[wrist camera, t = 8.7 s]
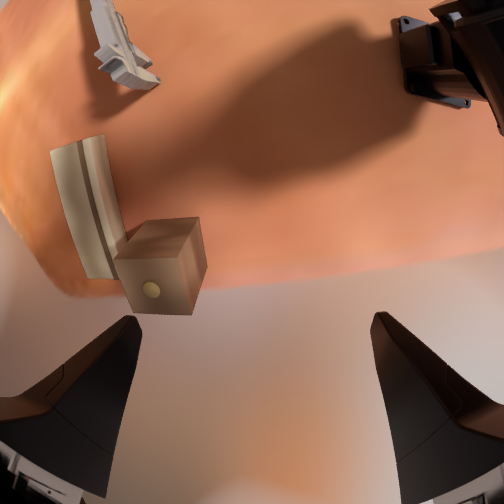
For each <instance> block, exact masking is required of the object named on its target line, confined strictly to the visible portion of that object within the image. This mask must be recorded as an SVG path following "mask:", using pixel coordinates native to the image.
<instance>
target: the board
mask: <svg viewBox="0 0 504 504" xmlns="http://www.w3.org/2000/svg"><path fill="white" fill-rule="evenodd" d="M50 155H51V160H52V165H53V170H54V174H55V179H56V183H57V187H58V191H59V195H60V199H61V202H62V206H63V210H64V213H65V216H66V220H67V223H68V226H69V229H70V232H71V235H72V238H73V241H74V244H75V247H76V249H77V252H78V255H79V258H80V260H81V263H82V265H83V268H84V270H85V273H86V275H87V278H88V279H114V280H119V279H120V278H119V275H118V273H117V270H116V267H115V264H114V261H113V259H114V258H115V256H116V255H117V254H118V253H119V252H120V250H121V249H122V248H123V247H124V246H125V245H126V243H127V242H128V240H127V237H126V233H125V229H124V226H123V222H122V218H121V214H120V210H119V206H118V202H117V198H116V193H115V189H114V184H113V180H112V175H111V170H110V164H109V159H108V154H107V148H106V142H105V135H104V134H100V135H97V136H93V137H90V138H87V139H83V140H80V141H77V142H74V143H71V144H68V145H65V146H62V147H60V148H57V149H54V150H51V151H50Z"/></svg>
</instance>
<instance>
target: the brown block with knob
mask: <svg viewBox="0 0 504 504" xmlns="http://www.w3.org/2000/svg"><path fill="white" fill-rule="evenodd" d="M113 261H114V264H115V267H116V270H117V273H118V275H119V278H120V281H121V283H122V286H123V289H124V291H125V294H126V296H127V299H128V301H129V304H130V306H131V308H132V311H133V313H143V314H164V315H192V313H193V310H194V307H195V303H196V300H197V297H198V294H199V291H200V288H201V285H202V282H203V279H204V276H205V272H206V269H207V261H206V255H205V250H204V244H203V238H202V232H201V225H200V219H199V217H188V218H174V219H160V220H148V221H146V222H145V223H144V224H143V225H142V226H141V227H140V228H139V230H138V231H137V232H136V233H135V234H134V235H133V236H132V238H131V239H130V240H129V241H128V242H127V243H126V245H125V246H124V247H123V248H122V249H121V250H120V252H119V253H118V254H117V255H116V256H115V258H114V259H113Z"/></svg>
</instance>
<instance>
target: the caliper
mask: <svg viewBox="0 0 504 504" xmlns="http://www.w3.org/2000/svg"><path fill="white" fill-rule="evenodd" d="M90 3H91V6H92V11H91V12H90V13H91V17H92V21H93V24H94V28H95V31H96V34H97V38H98V41H99V44H100V47H101V48H100V49H99V50H98V51H96V52H95V53H94V55H95V56H96V57H97V58H98V59H99V60H100V61H102V62H103V64H102V65H101V66H100V67H99V68H98V69H99V70H102V71H104V72H107V73H110V75H111V77H112V80H113V81H114V82H117V83H119V84H121V85H124V86H126V87H128V88H131V89H140V90H150V89H151V88H153V87H155V86H156V85H158V84H159V83H161V80H160V78H159V77H157V76H156V75H154V74H152V73H150V72H149V71H147V70H145V69H146V68H148V67H149V66H151V65H153V64H152V62H151V60H150V58H148V57H147V56H146V55H145V54H144V53H143V52H142V51H140V50H139V49H138V48H137V47H136V46H135V45H133V44H132V43H131V42H130V41H129V39H128V36H127V35H128V33H127V27H126V25H125V24H124V21H123V17H122V15H121V14H119V13H118V12H116V10H115V7H114V5H113V2H112V0H90Z"/></svg>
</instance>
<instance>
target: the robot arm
mask: <svg viewBox="0 0 504 504" xmlns="http://www.w3.org/2000/svg"><path fill="white" fill-rule="evenodd" d="M429 10H430V11H431V13H432V14H433V15H434V16H435V17H437V18H438V19H439V21H437V22H434V23H431V24H429V23H426V22H423V21H420V20H417V19H414V18H411V17H407V16H401V17H399V19H398V23H399V30H400V35H399V44H400V54H401V65H402V66H403V69H404V87H405V90H406V92H407V93H408V94H411V95H416V96H421V97H425V98H429V99H433V100H437V101H441V102H445V103H449V104H452V105H456V106H459V107H462V108H470V105H471V100H478V101H485V102H488V103H489V105H490V107H491V110H492V112H493V114H494V117H495V119H496V122H497V124H498V125H497V127H498V130H499V133H500V134H501V135H502V136H503V137H504V0H445V1H443V2H441V3H439V4H437V5H435V6H434V7H432V8H430V9H429ZM403 20H405V21H406V22H407V24H405V23H404V21H403ZM410 85H412V87H413V90H412V91H411V89H410ZM465 101H466V104H465ZM370 334H371V340H372V346H373V351H374V358H375V365H376V370H377V374H378V378H379V382H380V386H381V390H382V394H383V398H384V402H385V407H386V411H387V415H388V420H389V426H390V430H391V435H392V440H393V446H394V451H395V457H396V463H397V464H396V465H397V471H398V478H399V486H400V494H401V504H420V503H422V502H425V501H428V500H430V499H433V503H434V504H504V405H502V404H499V403H497V402H495V401H493V400H492V399H490V398H489V397H488V396H486V395H485V394H484V393H482V392H481V391H479V390H478V389H477V388H476V387H474V386H473V385H472V384H470V383H469V382H468V381H466V380H465V379H464V378H463V377H462V376H460V375H459V374H458V373H457V372H456V371H455V370H454V369H452V368H451V367H450V366H449V365H447V363H446V362H444V361H443V360H442V359H441V358H440V357H439V356H438V355H437V354H436V353H434V352H433V351H432V350H431V349H430V348H429V347H428V346H426V345H425V344H424V343H423V342H422V341H421V340H419V339H418V338H417V337H416V336H415V335H414V334H412V333H411V332H410V331H409V330H408V329H407V328H405V327H404V326H403V325H402V324H401V323H399V322H398V321H397V320H396V319H394V317H392V316H391V315H390V314H389V313H387V312H384V311H383V312H376V313H375V315H374V318H373V322H372V325H371V329H370ZM141 340H142V330H141V328H140V325H139V323H138V321H137V318H136V317H135V316H130V315H126V316H124V317H123V318H121V319H120V320H119V321H117V322H116V323H115V324H114V325H112V326H111V327H109V328H108V329H107V330H106V331H104V332H103V333H102V334H100V335H99V336H98V337H97V338H95V339H94V340H93V341H92V342H90V343H89V344H88V345H86V346H85V347H84V348H83V349H81V350H80V351H79V352H77V353H76V354H75V355H74V356H72V357H71V358H70V359H69V360H68V361H66V362H65V363H64V364H62V365H61V366H60V367H59V368H57V369H56V370H55V371H53V372H52V373H51V374H50V375H48V376H47V377H45V378H44V379H43V380H41V381H40V382H38V383H37V384H35V385H34V386H32V387H31V388H29V389H28V390H26V391H25V392H23V393H22V394H20V395H18V396H15V397H0V504H86V503H85V501H84V499H83V498H82V497H81V496H82V492H83V490H85V491H87V492H90V493H92V494H95V495H97V496H99V497H102V498H106V493H107V487H108V481H109V476H110V471H111V466H112V461H113V455H114V451H115V446H116V441H117V437H118V433H119V429H120V425H121V421H122V417H123V413H124V409H125V405H126V402H127V398H128V394H129V391H130V387H131V384H132V380H133V377H134V373H135V370H136V365H137V360H138V355H139V350H140V345H141Z"/></svg>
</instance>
